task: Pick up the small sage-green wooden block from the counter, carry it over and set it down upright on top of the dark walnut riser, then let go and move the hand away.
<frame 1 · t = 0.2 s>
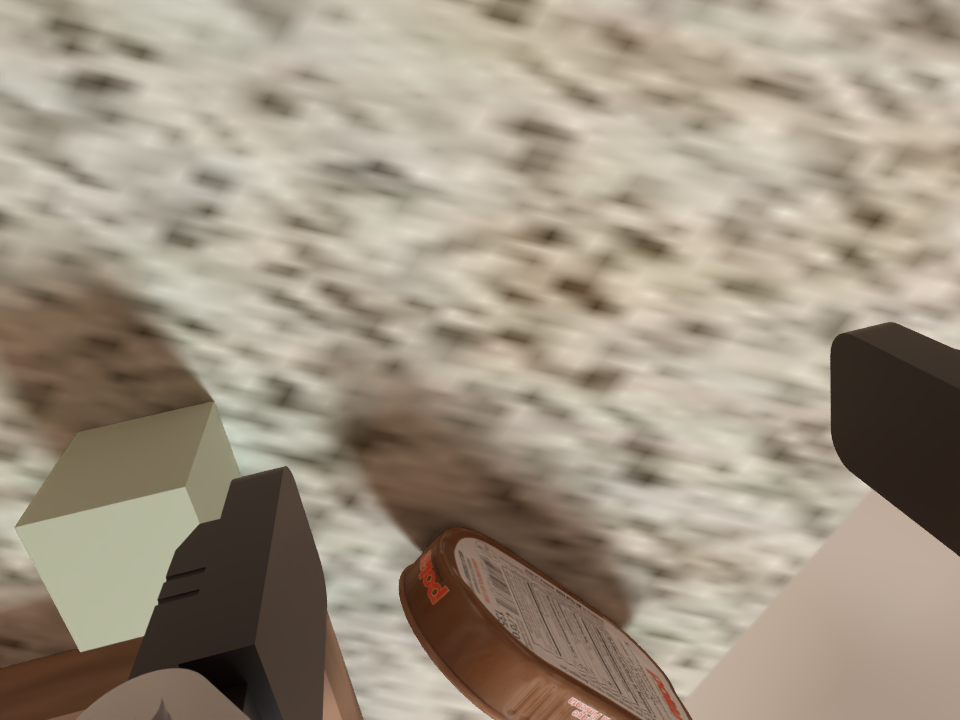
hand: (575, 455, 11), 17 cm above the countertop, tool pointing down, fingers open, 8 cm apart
sage block: (169, 472, 29), on the countertop
tin: (535, 588, 34), on the countertop
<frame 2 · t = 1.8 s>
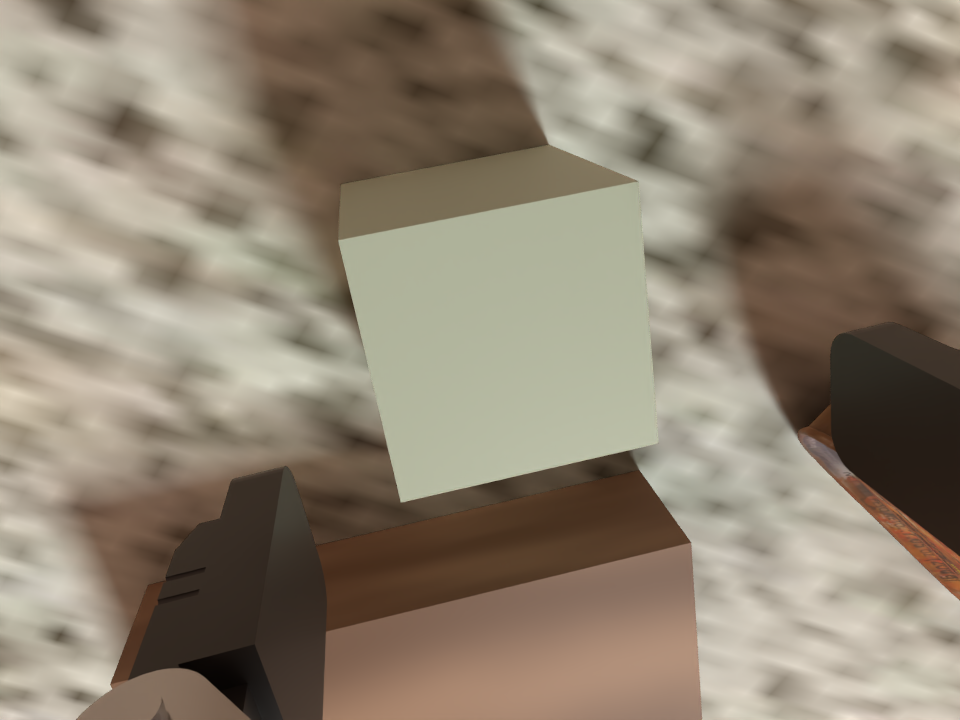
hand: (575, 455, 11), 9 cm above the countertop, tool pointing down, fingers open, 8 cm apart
walnut riser: (443, 696, 24), on the countertop
sage block: (463, 265, 19), on the countertop
tin: (917, 490, 24), on the countertop
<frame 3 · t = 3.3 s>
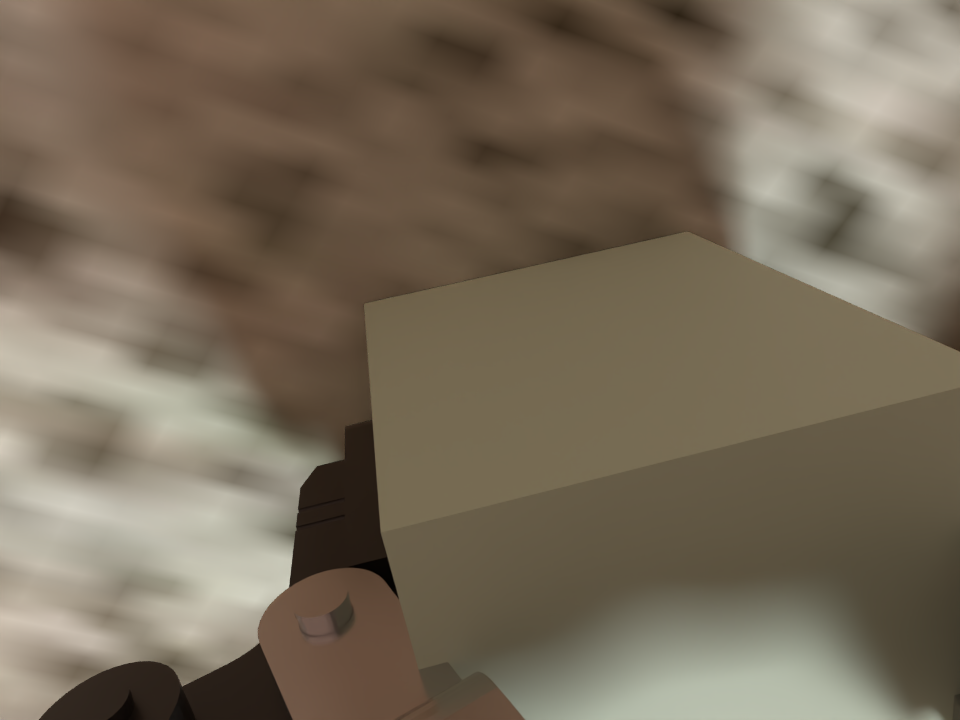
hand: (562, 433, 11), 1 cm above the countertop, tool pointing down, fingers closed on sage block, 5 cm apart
sage block: (552, 415, 12), on the countertop, touching gripper
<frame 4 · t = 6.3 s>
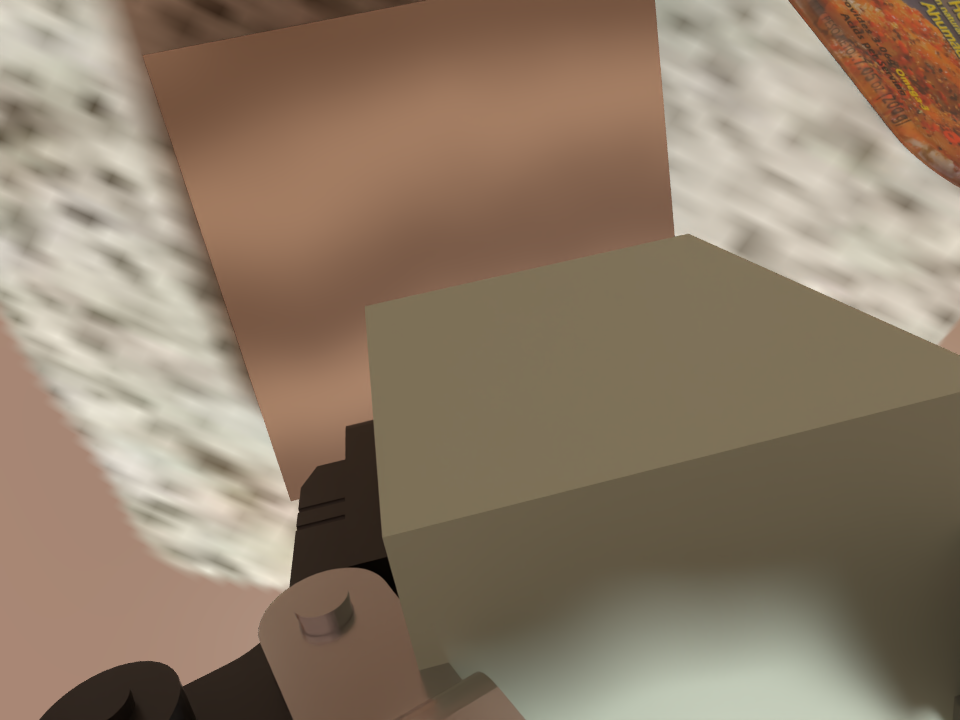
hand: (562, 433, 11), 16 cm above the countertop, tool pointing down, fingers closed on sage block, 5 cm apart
walnut riser: (439, 228, 27), on the countertop
sage block: (553, 417, 12), point 15 cm above the countertop, touching gripper
tin: (867, 30, 26), on the countertop
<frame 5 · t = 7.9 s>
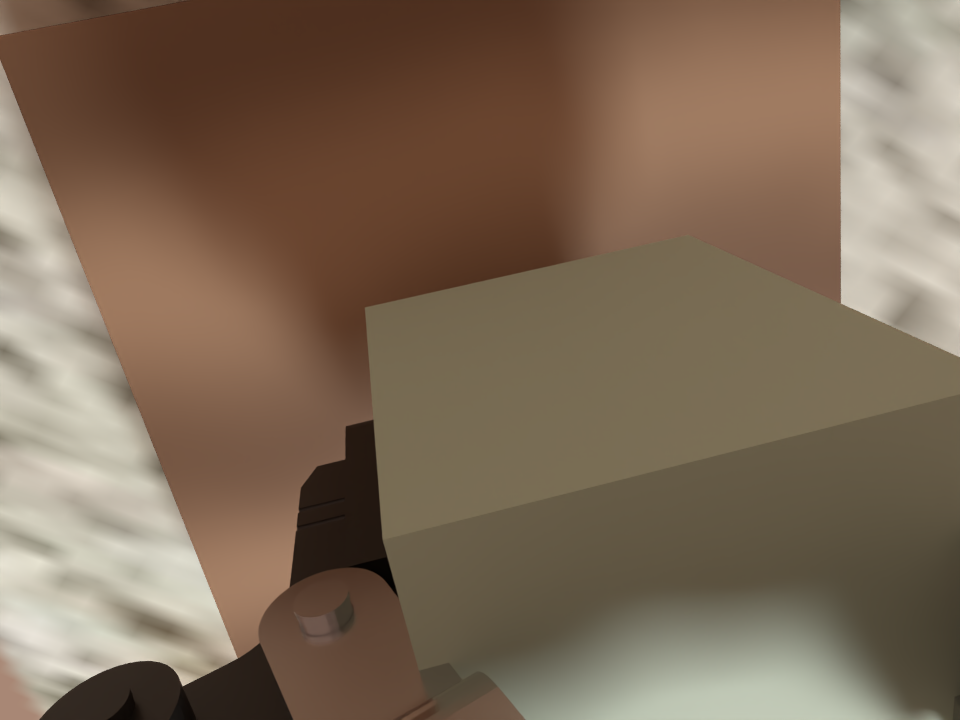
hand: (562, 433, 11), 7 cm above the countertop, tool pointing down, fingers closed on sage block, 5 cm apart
walnut riser: (476, 296, 18), on the countertop
sage block: (553, 418, 12), point 6 cm above the countertop, touching gripper
when the fingers open (6 cm above the countertop, at t = 9.0 s): sage block drops 2 cm, point 3 cm above the countertop.
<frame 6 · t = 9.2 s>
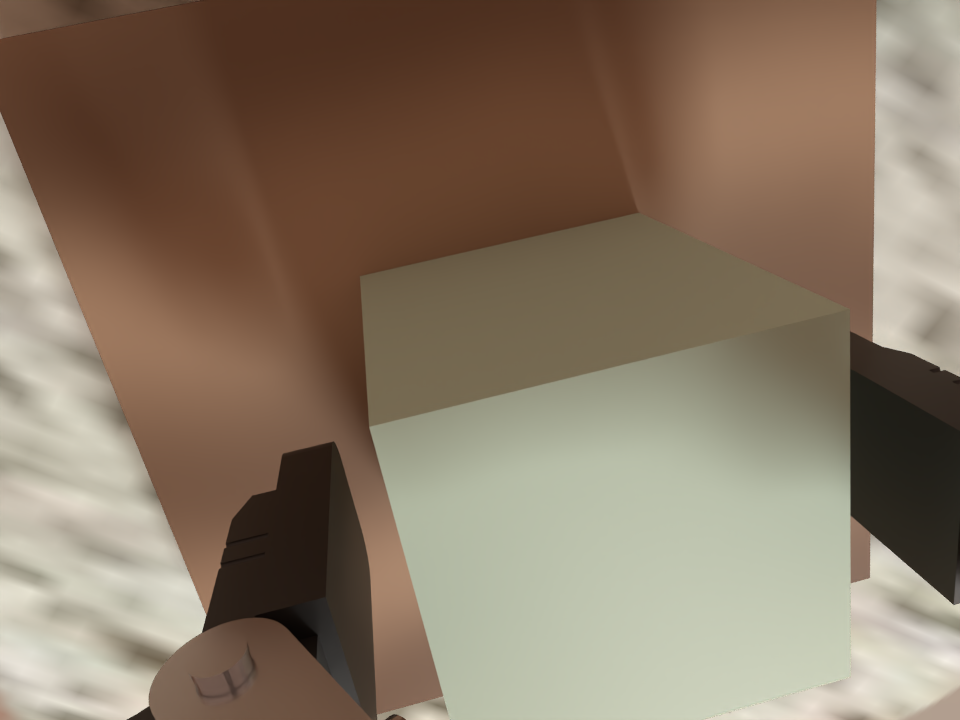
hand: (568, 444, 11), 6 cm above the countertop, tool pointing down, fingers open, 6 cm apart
walnut riser: (487, 311, 18), on the countertop
sage block: (525, 374, 14), point 3 cm above the countertop
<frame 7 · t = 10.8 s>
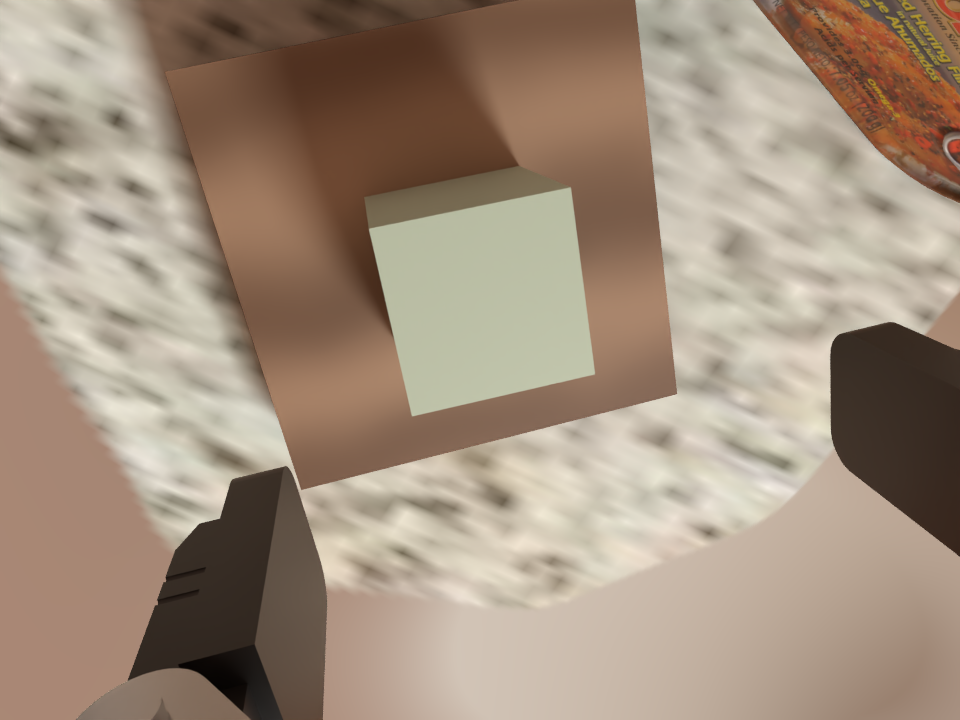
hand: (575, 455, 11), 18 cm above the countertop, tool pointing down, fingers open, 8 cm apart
walnut riser: (439, 231, 28), on the countertop, touching sage block
sage block: (456, 257, 25), point 3 cm above the countertop, touching walnut riser
tin: (841, 43, 28), on the countertop
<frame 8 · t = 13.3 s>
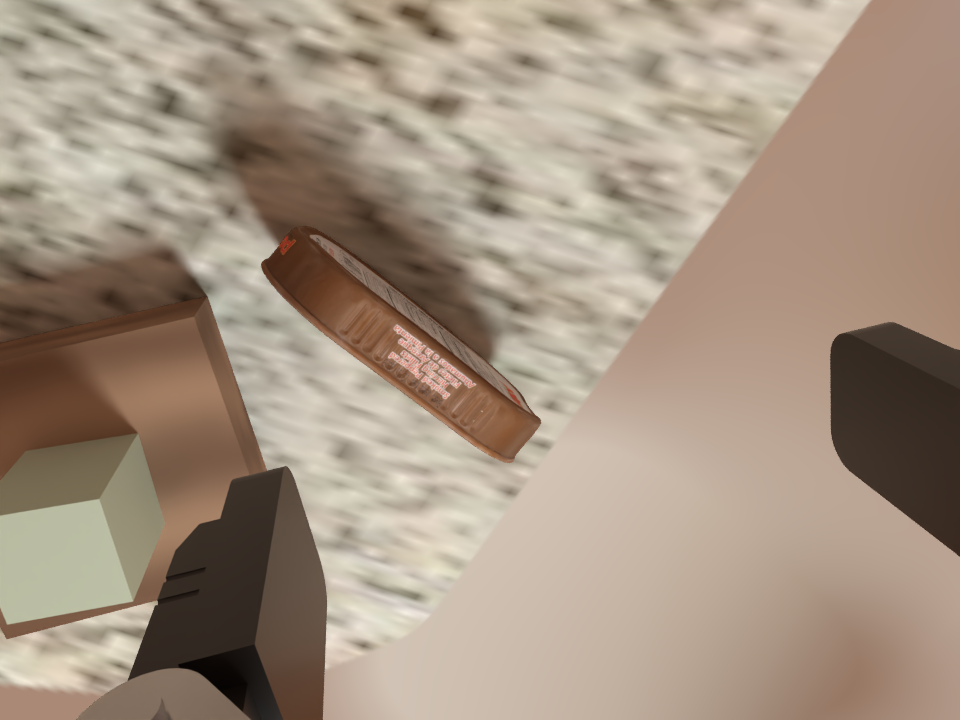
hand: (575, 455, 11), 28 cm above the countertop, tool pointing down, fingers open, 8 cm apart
walnut riser: (118, 448, 39), on the countertop, touching sage block
sage block: (97, 488, 36), point 3 cm above the countertop, touching walnut riser
tin: (404, 317, 39), on the countertop
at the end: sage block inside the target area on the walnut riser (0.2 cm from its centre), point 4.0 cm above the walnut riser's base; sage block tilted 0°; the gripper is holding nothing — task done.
